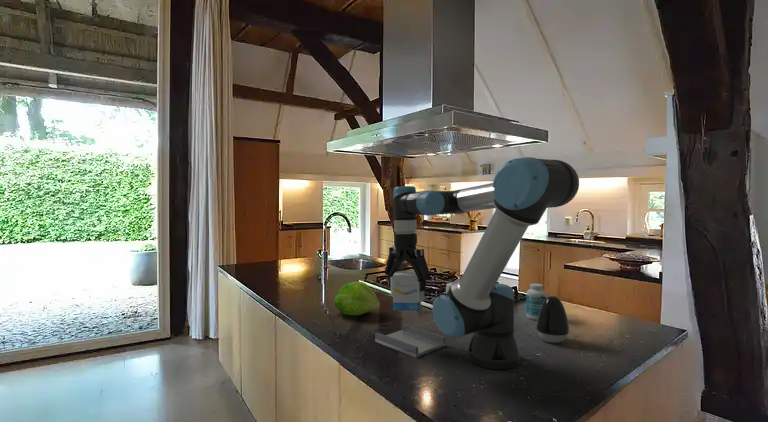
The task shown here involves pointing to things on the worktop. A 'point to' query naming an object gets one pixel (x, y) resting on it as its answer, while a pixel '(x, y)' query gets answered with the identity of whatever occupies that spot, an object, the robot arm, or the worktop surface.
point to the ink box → (405, 291)
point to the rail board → (411, 341)
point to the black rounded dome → (552, 320)
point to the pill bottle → (534, 300)
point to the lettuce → (356, 299)
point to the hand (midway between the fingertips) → (407, 298)
